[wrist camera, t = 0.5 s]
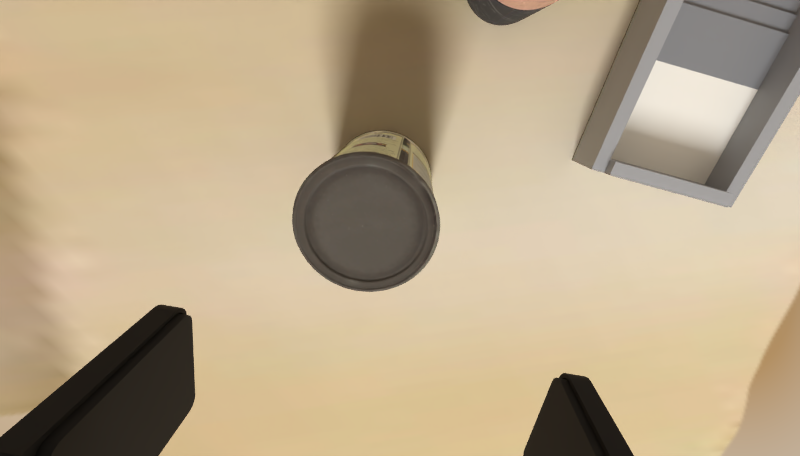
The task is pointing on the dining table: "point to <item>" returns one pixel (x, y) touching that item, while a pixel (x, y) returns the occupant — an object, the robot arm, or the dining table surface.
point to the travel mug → (507, 9)
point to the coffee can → (369, 214)
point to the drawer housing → (696, 95)
